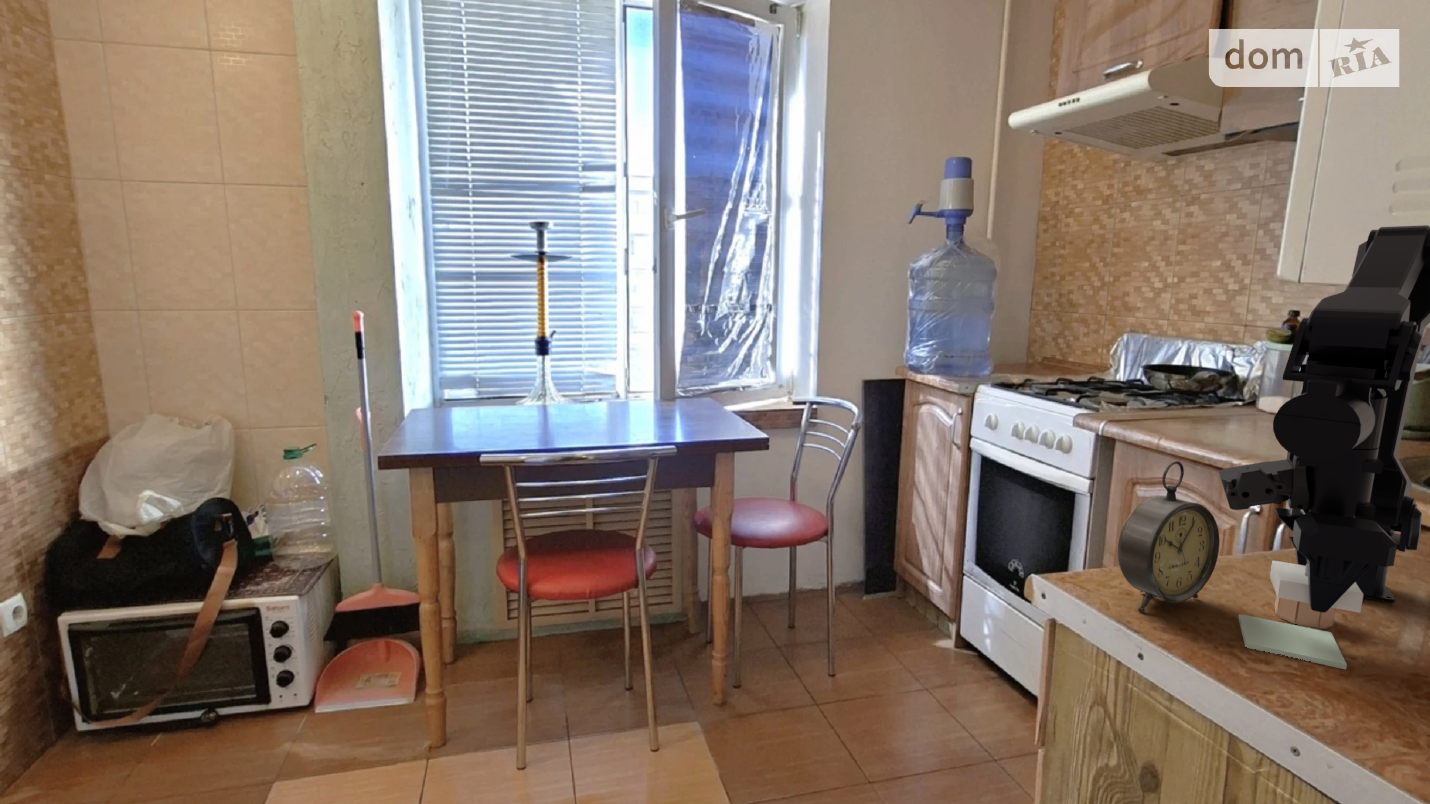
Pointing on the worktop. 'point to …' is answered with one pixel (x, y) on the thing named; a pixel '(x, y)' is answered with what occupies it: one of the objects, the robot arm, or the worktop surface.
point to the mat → (1291, 641)
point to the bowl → (1303, 614)
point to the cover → (1307, 586)
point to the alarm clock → (1168, 546)
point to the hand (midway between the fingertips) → (1312, 598)
